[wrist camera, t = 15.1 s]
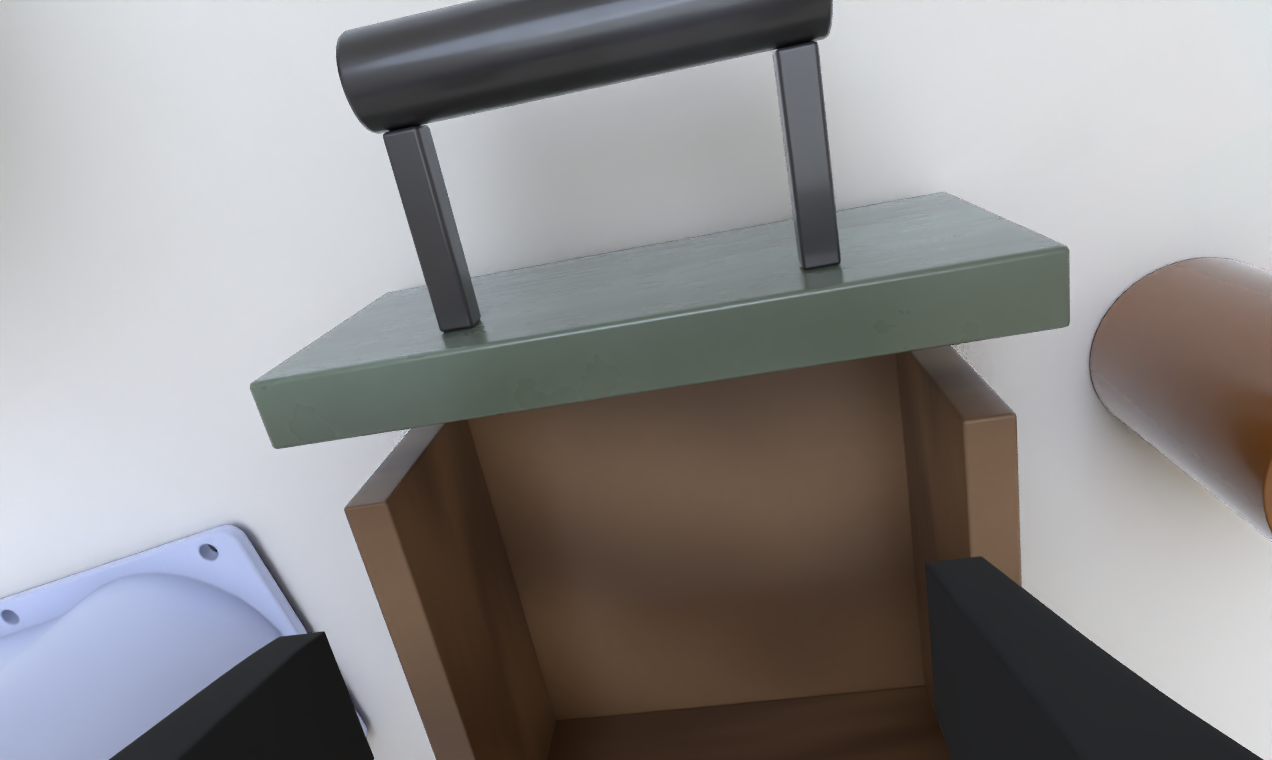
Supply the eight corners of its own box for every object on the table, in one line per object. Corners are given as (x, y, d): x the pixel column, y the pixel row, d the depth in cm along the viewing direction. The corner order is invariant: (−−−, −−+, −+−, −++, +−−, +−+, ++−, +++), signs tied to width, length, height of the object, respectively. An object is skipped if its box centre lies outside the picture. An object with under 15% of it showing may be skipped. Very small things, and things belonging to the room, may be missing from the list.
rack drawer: (315, 72, 16) (120, 67, 11) (931, -68, 14) (1070, -158, 9) (518, 717, 22) (458, 924, 16) (974, 673, 20) (1074, 889, 15)
